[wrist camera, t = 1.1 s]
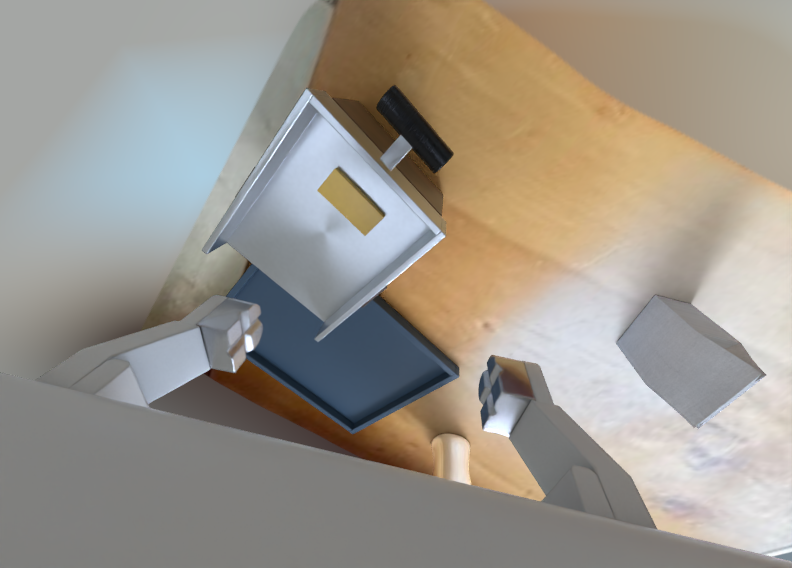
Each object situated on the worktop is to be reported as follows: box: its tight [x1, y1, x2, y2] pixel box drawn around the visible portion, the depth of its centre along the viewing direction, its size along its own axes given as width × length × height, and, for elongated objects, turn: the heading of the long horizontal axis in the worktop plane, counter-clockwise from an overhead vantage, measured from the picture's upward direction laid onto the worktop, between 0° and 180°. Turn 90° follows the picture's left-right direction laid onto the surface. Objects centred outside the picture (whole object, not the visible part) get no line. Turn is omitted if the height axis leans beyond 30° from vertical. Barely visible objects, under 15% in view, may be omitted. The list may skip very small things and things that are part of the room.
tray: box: [226, 264, 459, 434], centre depth 40 cm, size 28×22×2 cm
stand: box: [235, 98, 443, 308], centre depth 26 cm, size 14×11×8 cm
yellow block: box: [317, 167, 385, 236], centre depth 22 cm, size 5×2×1 cm, turn 46°
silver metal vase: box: [431, 433, 471, 485], centre depth 41 cm, size 7×7×15 cm
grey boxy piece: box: [616, 295, 766, 429], centre depth 27 cm, size 4×7×10 cm, turn 168°
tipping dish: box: [202, 85, 453, 342], centre depth 22 cm, size 12×19×3 cm, turn 136°
